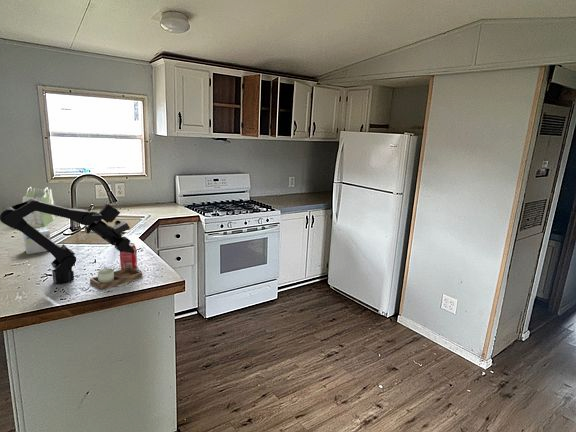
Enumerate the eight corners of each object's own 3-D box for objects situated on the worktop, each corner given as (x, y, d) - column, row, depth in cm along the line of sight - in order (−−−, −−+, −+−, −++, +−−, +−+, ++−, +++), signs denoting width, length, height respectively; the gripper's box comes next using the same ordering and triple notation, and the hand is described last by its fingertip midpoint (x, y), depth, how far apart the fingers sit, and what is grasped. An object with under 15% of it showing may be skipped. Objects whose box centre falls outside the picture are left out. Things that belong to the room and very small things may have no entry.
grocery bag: (47, 227, 225) (43, 190, 220) (20, 228, 220) (16, 191, 215) (59, 215, 254) (56, 183, 249) (36, 216, 249) (32, 183, 244)
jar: (103, 287, 144) (102, 274, 143) (95, 283, 147) (94, 270, 146) (117, 283, 149) (116, 270, 147) (109, 279, 152) (108, 266, 151)
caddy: (102, 292, 142) (101, 285, 141) (90, 285, 147) (89, 278, 147) (142, 279, 156) (142, 272, 155) (130, 273, 161) (129, 267, 161)
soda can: (132, 265, 171) (131, 241, 168) (140, 269, 166) (139, 244, 164) (117, 269, 165) (116, 244, 163) (125, 273, 161) (123, 248, 158)
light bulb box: (49, 247, 189) (47, 227, 187) (52, 250, 185) (50, 230, 182) (24, 251, 182) (22, 230, 179) (27, 254, 177) (24, 233, 175)
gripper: (124, 220, 151) (151, 241, 161) (110, 212, 164) (135, 231, 174) (105, 241, 147) (134, 261, 157) (92, 231, 160) (119, 250, 170)
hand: (131, 250), depth 165 cm, fingers closed on soda can, 7 cm apart
